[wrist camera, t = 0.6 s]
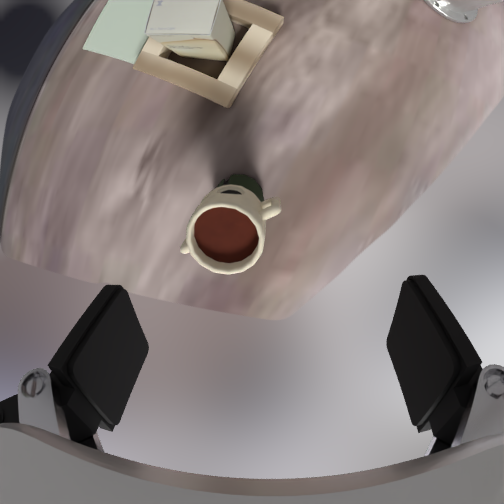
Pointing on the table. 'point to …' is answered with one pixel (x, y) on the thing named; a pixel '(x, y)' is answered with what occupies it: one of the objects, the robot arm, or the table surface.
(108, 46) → the sage mat
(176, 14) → the skincare box
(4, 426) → the robot arm
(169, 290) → the table surface
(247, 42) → the holder block
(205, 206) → the character mug
